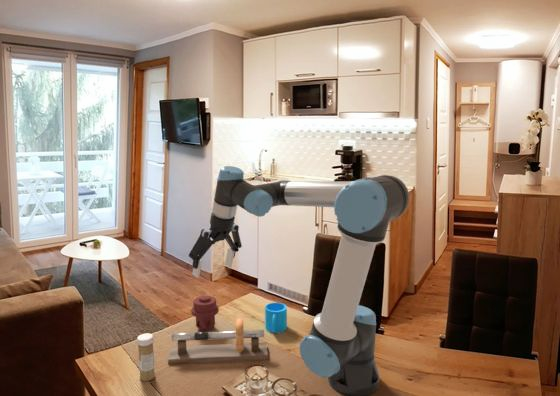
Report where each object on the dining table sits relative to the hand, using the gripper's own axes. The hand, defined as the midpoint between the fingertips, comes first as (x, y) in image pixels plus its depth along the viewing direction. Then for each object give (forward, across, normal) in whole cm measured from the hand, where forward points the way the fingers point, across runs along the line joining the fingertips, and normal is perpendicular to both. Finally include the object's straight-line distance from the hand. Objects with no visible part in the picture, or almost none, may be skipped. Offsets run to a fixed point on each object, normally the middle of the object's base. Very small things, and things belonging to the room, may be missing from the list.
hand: (212, 270), depth 145 cm
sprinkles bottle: (+27, +25, +8) cm, 38 cm away
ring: (+20, -3, +17) cm, 27 cm away
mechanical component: (+30, -6, -4) cm, 31 cm away
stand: (+24, +2, +13) cm, 28 cm away
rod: (+19, +2, +12) cm, 22 cm away
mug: (+24, -23, +15) cm, 37 cm away
